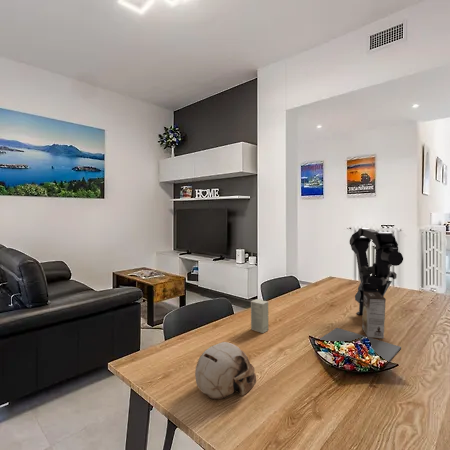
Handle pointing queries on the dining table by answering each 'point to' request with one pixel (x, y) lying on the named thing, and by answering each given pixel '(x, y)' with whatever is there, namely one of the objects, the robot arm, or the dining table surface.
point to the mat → (380, 347)
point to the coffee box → (373, 314)
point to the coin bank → (224, 371)
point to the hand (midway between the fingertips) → (381, 297)
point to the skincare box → (259, 315)
